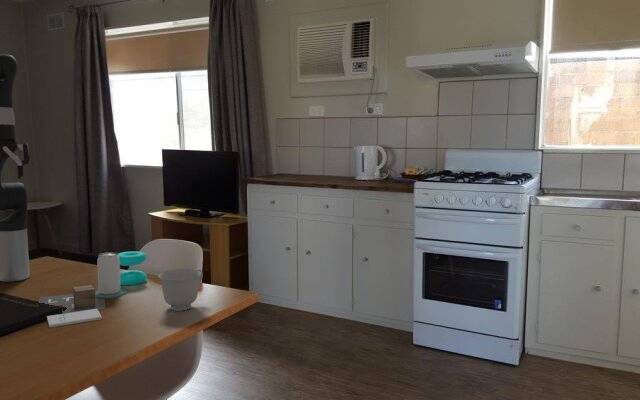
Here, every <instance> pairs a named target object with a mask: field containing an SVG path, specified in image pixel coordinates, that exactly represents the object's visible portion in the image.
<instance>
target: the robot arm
mask: <svg viewBox="0 0 640 400" xmlns="http://www.w3.org/2000/svg"><path fill="white" fill-rule="evenodd" d="M18 70H19V66H18V62H17V59H16V58H15V57H14V56H13V55H11V54H6V53H2V54H1V53H0V211H10V210H11V211H12V212H11V213H10V215H8V216H6V217H4V218H2V219H0V282H6V283H7V282H9V283H10V282H18V281H19V282H20V281H23V280H26V279H28V278H30V277H31V275H30V258H29V254H30V253H29V241H28V239H29V237H28V192H27V188H26V185H25V184H24V183H23V182H17V181H16V182H15V181H14V182H2V172H3V168H4V166H5V164H6V162H7V161H8V159H10V158H11V159H12V160H13V161H14V162H15V163H16V164H17V166H16V167H17V168H16V169H17V179H22V177H24V175H25V172H24V171H25V170H24V166H25V165H29V164H30V163H31V158H30V150H29V149H30V148H29V144H28V143H23V144H22V143H21V144H20V143H19V144H18V143H17V140H16V139H17V138H16V126H15V125H16V124H15V121H16V120H15V119H16V118H15V112H14V101H13V89H14V86H15V85H14V84H15V81H16V76H17V73H18ZM18 149H19V150H20V151H21V152H23V160H21V159H20V157H19V156H18V155H17V154H16V153H15V152H16V151H17V150H18Z"/></svg>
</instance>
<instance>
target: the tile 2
mask: <svg viewBox="0 0 640 400" xmlns="http://www.w3.org/2000/svg"><path fill="white" fill-rule="evenodd" d="M95 305H96V306H91V307H85V308H78V309H76V307H75V305H74V301H69V302H64V305H63V307H66V308H67V309H66V310H65V311H63V310H62V311H61V312H62V313H61V314H65V313H72V312H78V311H85V310H91V309H98V310H102V309H103V310H105V309H106V298H95Z"/></svg>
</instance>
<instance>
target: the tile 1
mask: <svg viewBox="0 0 640 400" xmlns="http://www.w3.org/2000/svg"><path fill="white" fill-rule="evenodd" d="M69 301H74V296H73V293H72V294H71V293H69V294H59V295H50V296H49V295H48V296H40V297H39V300H38V302H39V303H45V304H49V305H55V306H54V307H58V306H64V302H69Z"/></svg>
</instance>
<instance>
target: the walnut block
mask: <svg viewBox="0 0 640 400" xmlns="http://www.w3.org/2000/svg"><path fill="white" fill-rule="evenodd" d="M72 291H73V293H72V294H73V296H74V305H75V307H76V309H78V308H85V307H91V306H96V305H95V299H96V297H95V291H96V289H95V287H94V286H93V285H92V284H89V285H81V286H74V287H72Z"/></svg>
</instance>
